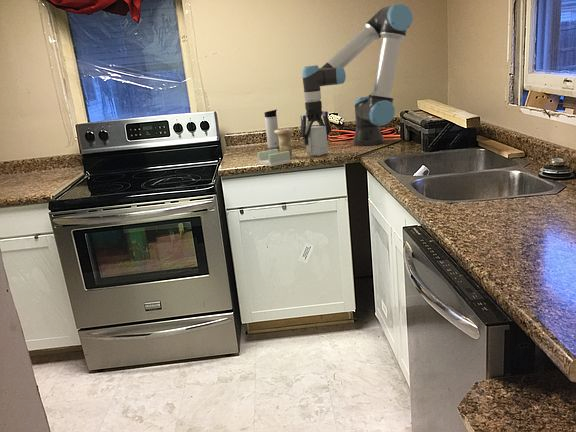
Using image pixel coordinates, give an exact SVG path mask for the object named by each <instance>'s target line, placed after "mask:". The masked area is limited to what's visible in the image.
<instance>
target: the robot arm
mask: <svg viewBox="0 0 576 432" xmlns="http://www.w3.org/2000/svg"><path fill="white" fill-rule="evenodd" d="M413 15H414V14H413V12H412V9H411V8H409V6H408V5H406V4H404V3H393V4H391V5H388V6H384V7H382V8H380V9H379V10H378V11H377V12H375V14H373V15H372V17H371V18H370V19H369V20H368V21H367V22H365V24H364V25H363V29H361V30H360V31H359V32H358V33H357V34H356V35H355V36H353V37H352V38H351V39H350V40H349V41H348V42H347V43H346V44H345V45H344V46H342V48H341V49H340V50H339V51H337V53H335V54H334V55H333V56H332V57H331V58H330V59H328V60H327V61H326V63H324V64H323V65H322V66H321V67H320V68H319V65H317V64H316V65H308V66H303V67H302V69H301V71H302V72H301V73H302V75H301V76H302V77H301V78H302V85H303V94H304V101H305V102H304V106H305V107H304V108H305V114H302V115H300V116H299V117H300V130H299V131H300V132H299V137H300V138H303V140H304V145H306V153H307V152H311V142H310V138H308V137H309V133H310V130H311V127H312V126H313V124H314V123H315V122H317V124H318V126H326V133H327V144H328V142H329V134H330V133H332V128H331V127H332V126H331V124H330V120H329V112H328V110H327V111H323V110H322V108H323V105H322V93H321V87H326V86H327V87H328V86H336V85H337V86H339V85H342V84H344V83H345V81H346V77H347V76H346V70H345V68H346V67H347V66H348V65H349V64H350V63H351V62H352V61H354V59H356V58H357V57H358V55H360V54H361V53H362V52H363V51H364V50H366V49H367V48H368V47H369V46H370V45H371V44H372V43H373V42H374V41H378V40H379V39H380V38H382V40H381V44H380V51H379V56H378V61H377V67H376V73H375V78H374V82H373V89H372V91H371V92H370V93H369V94H368V96H362V97H357V98H356V99H354V113H355V114H354V115H355V117H354V118H355V132H354V135H353V139H352V140H353V141H352V144H353V145H354V146H376V145H380V144H383V143H384V136H383V132H382V130H381V128H380V127H381V126H385V125H388V124H389V123H390V122H392V120H393V119H394V116H395V114H396V110H395V106H394V99H395V98H394V96H393V95H392V91H393V85H394V80H395V74H396V69H397V64H398V59H399V55H400V54H399V53H400V49H401V44H402V41H403V40H404V39H405V38H406V34H407V30H408V29H410V27H411V26H412V24H413V19H414V16H413Z"/></svg>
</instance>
